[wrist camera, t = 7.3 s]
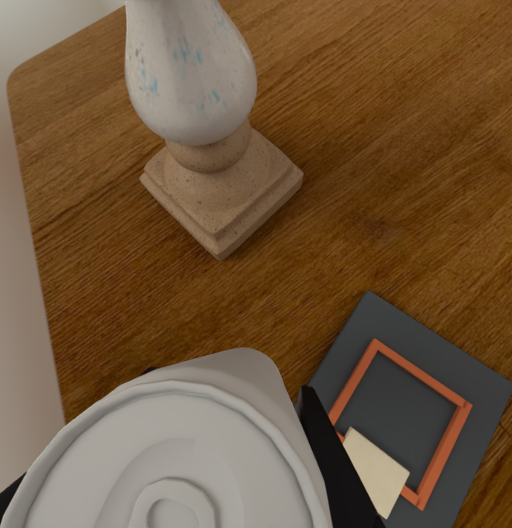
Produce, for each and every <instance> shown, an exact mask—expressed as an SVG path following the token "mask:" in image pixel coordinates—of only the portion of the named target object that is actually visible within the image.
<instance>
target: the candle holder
mask: <svg viewBox="0 0 512 528" xmlns="http://www.w3.org/2000/svg"><path fill="white" fill-rule="evenodd" d="M125 6H126V24H127V30H126V45H125V61H124V68H125V80H126V86H127V91H128V94H129V97H130V100H131V103H132V105H133V108H134V109H135V111H136V113H137V114H138V116H139V117H140V119H141V120H142V122H143V123H144V124H145V125H146V126H147V127H148V128H149V129H150V130H151V131H153V132H154V133H155V134H157V135H158V136H159V137H161V138H163V139H165V142H166V146H165V147H164V148H163V149H162V150H160V151H159V152H158V153H157V154H156V155H155V156H154V157H153V158H152V159H151V160H150V161H148V162H147V164H146V165H145V167H144V170H145V172H144V173H143V174H142V175H141V176H140V180H141V182H142V184H143V185H144V186H145V187H146V189H147V190H148V191H149V192H150V193H151V195H152V196H153V197H154V198H155V199H156V200H157V201H158V202H159V203H160V204H161V205H162V206H163V207H164V208H165V209H166V210H167V211H168V212H169V213H170V214H171V215H172V216H173V217H174V218H175V219H176V220H177V221H178V222H179V223H180V224H181V225H182V226H183V227H184V228H185V229H186V230H187V231H188V232H189V233H190V234H191V235H192V236H193V237H194V238H195V239H196V240H197V241H198V242H199V243H200V244H201V245H202V246H203V247H204V248H205V249H206V250H207V251H208V252H209V253H211V254H212V255H213V256H214V257H215V258H216V259H217V260H220V261H222V260H224V259H225V258H227V257H228V256H229V255H230V254H231V253H232V252H234V251H235V250H236V249H237V248H238V247H239V246H240V245H241V244H242V243H243V242H244V241H245V240H247V239H248V238H249V237H250V236H251V235H252V234H253V233H254V232H255V231H256V230H257V229H258V228H259V227H260V226H261V225H262V224H263V223H265V222H266V221H267V220H268V219H269V218H270V217H271V216H272V215H273V214H274V213H275V212H276V211H277V210H278V209H279V208H280V207H281V206H283V205H284V204H285V203H286V202H287V201H288V200H289V199H290V198H291V197H292V196H293V195H294V194H295V193H296V192H297V191H298V190H299V189H300V187H301V185H302V180H303V175H304V173H303V172H302V171H301V170H300V169H299V168H298V167H297V166H296V165H295V164H294V163H292V162H291V161H290V159H289V158H288V157H287V156H286V155H285V154H284V153H283V152H282V151H281V150H279V149H278V148H277V147H276V146H275V145H273V144H272V143H271V142H270V141H269V140H267V139H266V138H265V137H264V136H262V135H261V134H260V133H259V132H258V131H256V130H255V129H254V128H252V127H251V126H250V123H249V119H248V116H249V114H250V112H251V110H252V108H253V105H254V101H255V98H256V94H257V73H256V67H255V63H254V60H253V57H252V54H251V51H250V49H249V47H248V45H247V43H246V41H245V40H244V38H243V36H242V34H241V32H240V31H239V30H238V28H237V27H236V25H235V24H234V22H233V21H232V19H231V18H230V17H229V15H228V14H227V13H226V11H225V10H224V8H223V7H222V6H221V4H220V3H219V1H218V0H125Z"/></svg>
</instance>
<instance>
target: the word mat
mask: <svg viewBox="0 0 512 528" xmlns="http://www.w3.org/2000/svg"><path fill="white" fill-rule="evenodd" d="M307 386H311V387H313V388H314V389H315V391H316V393H317V395H318V397H319V399H320V401H321V403H322V405H323V407H324V409H325V411H326V413H327V415H328V417H329V419H330V420H331V422H332V424H333V426H334V428H335V430H336V432H337V434H338V436H339V438H340V440H341V442H342V444H343V446H344V448H345V450H346V452H347V454H348V455H349V457H350V459H351V461H352V463H353V465H354V467H355V469H356V471H357V473H358V475H359V477H360V479H361V481H362V483H363V485H364V487H365V489H366V491H367V492H368V494H369V496H370V498H371V500H372V502H373V504H374V506H375V508H376V510H377V515H379V516H380V517H381V519H382V521H383V523H384V525H385V527H386V528H452V526H453V524H454V522H455V519H456V517H457V515H458V513H459V510H460V508H461V506H462V504H463V501H464V499H465V497H466V495H467V492H468V490H469V488H470V486H471V483H472V481H473V479H474V477H475V474H476V472H477V470H478V468H479V465H480V463H481V461H482V459H483V456H484V454H485V452H486V450H487V447H488V445H489V443H490V441H491V438H492V436H493V434H494V432H495V429H496V427H497V425H498V423H499V420H500V418H501V416H502V414H503V411H504V409H505V407H506V405H507V402H508V400H509V398H510V396H511V393H512V382H510V381H509V380H507V379H506V378H504V377H503V376H501V375H499V374H498V373H496V372H495V371H493V370H492V369H490V368H489V367H487V366H485V365H484V364H482V363H481V362H479V361H478V360H476V359H475V358H473V357H472V356H470V355H468V354H467V353H465V352H464V351H462V350H461V349H459V348H458V347H456V346H455V345H453V344H451V343H450V342H448V341H447V340H445V339H444V338H442V337H441V336H439V335H437V334H436V333H434V332H433V331H431V330H430V329H428V328H427V327H425V326H424V325H422V324H420V323H419V322H417V321H416V320H414V319H413V318H411V317H410V316H408V315H407V314H405V313H403V312H402V311H400V310H399V309H397V308H396V307H394V306H393V305H391V304H390V303H388V302H386V301H385V300H383V299H382V298H380V297H379V296H377V295H376V294H374V293H372V292H371V291H369V290H368V291H366V292H365V293H364V295H363V297H362V298H361V300H360V301H359V303H358V305H357V306H356V308H355V309H354V311H353V313H352V314H351V316H350V317H349V319H348V321H347V322H346V324H345V325H344V327H343V329H342V330H341V332H340V333H339V335H338V337H337V338H336V340H335V341H334V343H333V345H332V346H331V348H330V349H329V351H328V353H327V354H326V356H325V357H324V359H323V361H322V362H321V364H320V365H319V367H318V368H317V370H316V372H315V373H314V375H313V376H312V378H311V380H310V381H309V383H308V384H307ZM297 401H298V400H297ZM294 409H295V411H296V414H297V402H296V404H295V405H294Z"/></svg>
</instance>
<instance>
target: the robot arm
mask: <svg viewBox="0 0 512 528" xmlns="http://www.w3.org/2000/svg"><path fill="white" fill-rule="evenodd" d="M156 369H159V368H157V367H150V368H148V369H147V370H145V371H144V372H143V373H142V374H141V375H140V376H142V375H144V374H147V373H149V372H151V371H153V370H156ZM140 376H138V377H140ZM138 377H137V378H138ZM297 416H298V419H299V421H300V423H301V426H302V428H303V431H304V433H305V435H306V438H307V440H308V442H309V445H310V447H311V450H312V452H313V455H314V457H315V459H316V462H317V464H318V467H319V469H320V472H321V474H322V477H323V479H324V483H325V488H326V493H327V499H328V504H329V510H330V515H331V521H332V527H333V528H386V527H385V525H384V523H383V521H382V519H381V517H380V516H379V515H377V510H376V508H375V506H374V504H373V502H372V500H371V498H370V496H369V494H368V492H367V491H366V489H365V487H364V485H363V483H362V481H361V479H360V477H359V475H358V473H357V471H356V469H355V467H354V465H353V463H352V461H351V459H350V457H349V455H348V454H347V452H346V450H345V448H344V446H343V444H342V442H341V440H340V438H339V436H338V434H337V432H336V430H335V428H334V426H333V424H332V422H331V420H330V419H329V417H328V415H327V413H326V411H325V409H324V407H323V405H322V403H321V401H320V399H319V397H318V395H317V393H316V391H315V389H314V388H313V387H311V386H304V385H302V386H301V387H300V391H299V396H298V401H297ZM26 473H27V472H26ZM26 473H24V474H23V475H22V476H21V477H20V478H18V479H17V480H16V481H15V482H13V483H12V484H11V485H10V486H9V487H7V488H6V489H5V490H4V491H3V492H1V493H0V525H1V522H2V519H3V515H4V514H5V512H6V510H7V508H8V506H9V504H10V503H11V501H12V499H13V497H14V495H15V493H16V491H17V490H18V488H19V486H20V484H21V482H22V480H23V479H24V477H25V475H26Z"/></svg>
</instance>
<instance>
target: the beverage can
mask: <svg viewBox="0 0 512 528" xmlns="http://www.w3.org/2000/svg"><path fill="white" fill-rule="evenodd" d="M0 528H333V527H332V521H331V515H330V510H329V504H328V499H327V493H326V488H325V483H324V479H323V477H322V474H321V472H320V469H319V467H318V464H317V462H316V459H315V457H314V455H313V452H312V450H311V447H310V445H309V442H308V440H307V438H306V435H305V433H304V431H303V428H302V426H301V423H300V421H299V419H298V416H297V414H296V411H295V409H294V407H293V404H292V402H291V400H290V398H289V395H288V393H287V391H286V388H285V386H284V383H283V380H282V378H281V375H280V373H279V370H278V368H277V367H276V365H275V364H274V362H273V361H272V360H271V359H270V358H269V357H268V356H266V355H265V354H264V353H262V352H260V351H257V350H255V349H251V348H237V349H231V350H227V351H222V352H218V353H215V354H211V355H207V356H203V357H200V358H196V359H192V360H189V361H185V362H181V363H178V364H174V365H170V366H167V367H163V368H159V369H156V370H153V371H151V372H149V373H147V374H144V375H142V376H140V377H138V378H135V379H133V380H131V381H129V382H127V383H124V384H122V385H120V386H118V387H117V388H116V389H115V390H113V391H112V392H111V393H109V394H108V395H107V396H106V397H104V398H103V399H102V400H99V401H97V402H96V403H95V404H93V405H92V406H91V407H89V408H88V409H87V410H85V411H84V412H83V413H82V414H80V415H79V416H78V417H76V418H75V419H74V420H73V421H71V422H70V423H69V424H67V425H66V426H65V427H63V428H62V429H61V430H60V431H59V432H58V434H57V435H56V436H55V438H54V439H53V440H52V441H51V442H50V444H49V445H48V446H47V447H46V448H45V450H44V451H43V452H42V453H41V454H40V456H39V457H38V458H37V459H36V460H35V462H34V463H33V464H32V465H31V466H30V468H29V469H28V471H27V473H26V475H25V477H24V479H23V480H22V482H21V484H20V486H19V488H18V490H17V491H16V493H15V495H14V497H13V499H12V501H11V503H10V504H9V506H8V508H7V510H6V512H5V514H4V515H3V519H2V522H1V525H0Z"/></svg>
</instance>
